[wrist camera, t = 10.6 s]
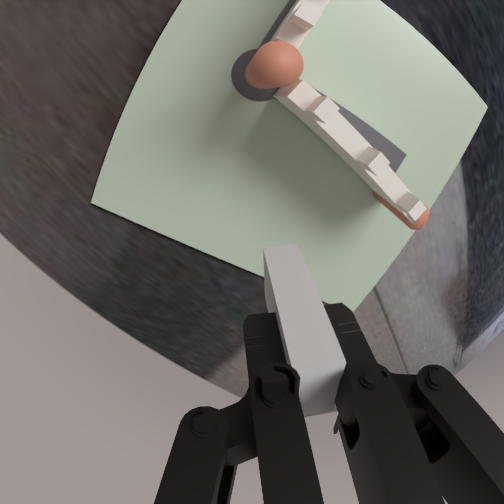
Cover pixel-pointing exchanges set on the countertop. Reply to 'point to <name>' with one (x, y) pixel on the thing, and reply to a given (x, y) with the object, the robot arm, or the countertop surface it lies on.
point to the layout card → (286, 139)
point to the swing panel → (354, 151)
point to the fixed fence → (284, 48)
